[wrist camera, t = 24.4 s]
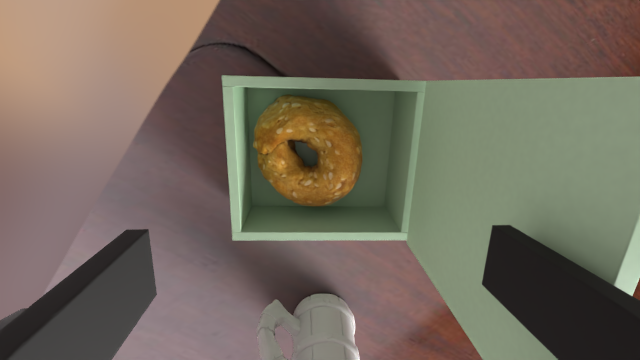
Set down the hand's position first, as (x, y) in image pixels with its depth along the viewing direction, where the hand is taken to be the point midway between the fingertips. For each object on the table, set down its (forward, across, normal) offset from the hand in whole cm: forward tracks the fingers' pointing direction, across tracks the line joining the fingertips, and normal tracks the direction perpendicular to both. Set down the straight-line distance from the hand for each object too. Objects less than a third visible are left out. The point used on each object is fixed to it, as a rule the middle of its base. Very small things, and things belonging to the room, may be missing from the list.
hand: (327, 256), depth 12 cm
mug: (+21, 0, -19) cm, 28 cm away
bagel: (+20, 0, +1) cm, 20 cm away
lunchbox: (+20, +2, +1) cm, 20 cm away
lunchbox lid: (+5, +8, 0) cm, 9 cm away
